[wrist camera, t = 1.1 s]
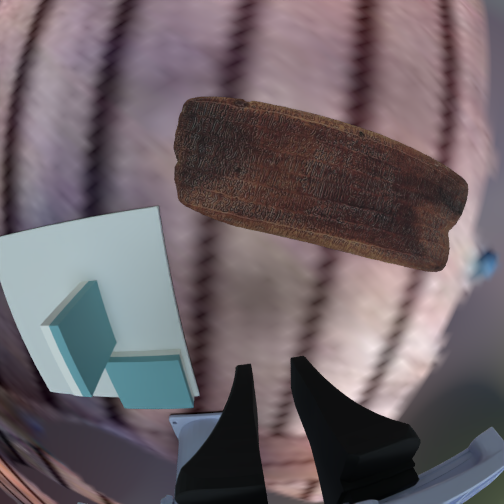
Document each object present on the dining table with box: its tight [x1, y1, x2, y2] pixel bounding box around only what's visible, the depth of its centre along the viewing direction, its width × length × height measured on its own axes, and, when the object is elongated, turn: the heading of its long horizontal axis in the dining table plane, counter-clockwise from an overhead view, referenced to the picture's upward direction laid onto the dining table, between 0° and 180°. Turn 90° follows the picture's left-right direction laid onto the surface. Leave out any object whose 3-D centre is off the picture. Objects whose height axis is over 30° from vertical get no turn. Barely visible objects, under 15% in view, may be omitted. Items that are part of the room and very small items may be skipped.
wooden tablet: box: [174, 97, 468, 272], centre depth 21 cm, size 26×2×10 cm
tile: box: [40, 280, 117, 397], centre depth 18 cm, size 6×2×7 cm, turn 5°
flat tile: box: [105, 349, 194, 409], centre depth 23 cm, size 6×7×2 cm
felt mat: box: [0, 206, 199, 397], centre depth 22 cm, size 18×18×1 cm
